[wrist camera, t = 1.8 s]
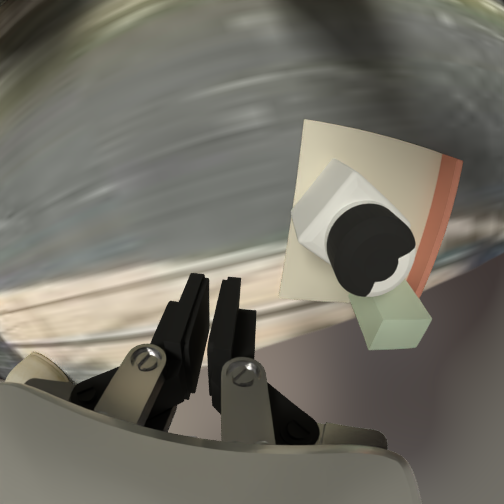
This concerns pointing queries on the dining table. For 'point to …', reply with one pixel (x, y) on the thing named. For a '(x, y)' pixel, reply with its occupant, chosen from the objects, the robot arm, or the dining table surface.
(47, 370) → the jug
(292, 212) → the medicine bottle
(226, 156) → the dining table surface
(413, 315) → the tea box
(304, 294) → the cream flat block
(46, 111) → the dining table surface
